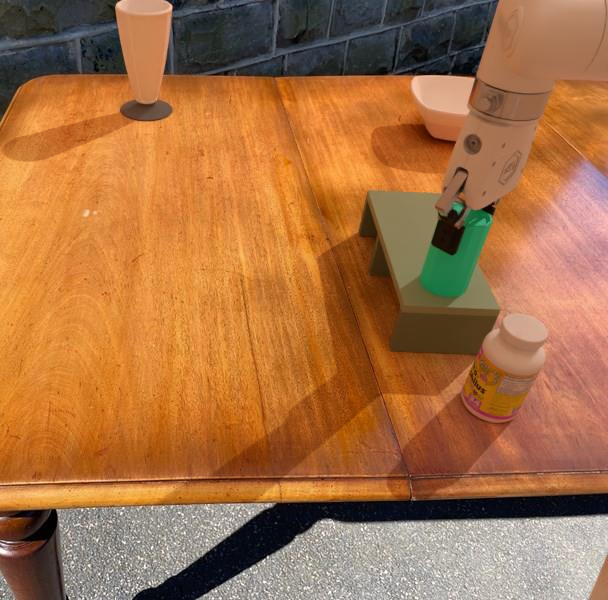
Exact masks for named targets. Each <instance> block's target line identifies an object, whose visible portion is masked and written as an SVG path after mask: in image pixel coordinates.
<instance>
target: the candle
mask: <svg viewBox="0 0 608 600" xmlns="http://www.w3.org/2000/svg"><path fill="white" fill-rule="evenodd" d="M453 207H454V208H453V209H454V210H456V211H457V213H458V215H459V214H460V212H461V210H462V208H463V206H462V205H460V204H458V203H456V202H454V204H453ZM437 222H438V220H437ZM493 222H494V221H493V217H492V215H490V214H488V213H487V212H485V211H483V210H481V209H479V210H473V209H471V210H470V212H469V214H468V216H467V218H466V220H465V222H464V224H463V226H465V227H466V228H465V231H464V234H463V236H462V239H461V242H460V245H459V248H458V251H457V253H456V254H455V255H453V256H451V255H449V254H447V253H446V252H444V251H442V250H440V249H438V248H436V247H434V246H433V245H432V244H431V243H430V246H429V249H428V252H427V255H426V258H425V262H424V265H423V268H422V271H421V274H420V283H421V284H422V285H423V286H424V288H425V289H426V290H428V291H430V292H432V293H434V294H435V295H438V296H443V297H449V298H450V297H457V296H461V295H462V294H463V293H464V292H466V290H467V288H468V285H469V283H470V280H471V277H472V275H473V272H474V269H475V267H476V264H477V262H478V261H479V259H480V257H481V254H482V251H483V248H484V246H485V243H486V241H487V238H488V235H489V233H490V231H491V227H492V225H493ZM436 226H437V224H436ZM435 229H436V227H435ZM434 232H435V230H434ZM433 235H434V233H433ZM432 238H433V236H432ZM431 241H432V239H431ZM478 263H479V262H478Z"/></svg>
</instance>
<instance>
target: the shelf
mask: <svg viewBox="0 0 608 600" xmlns="http://www.w3.org/2000/svg"><path fill="white" fill-rule="evenodd" d="M441 195H442V192H439V193H438V192H419V191H397V190H377V189H376V190H375V189H367V191H366V197H365V200H364V205H363V210H362V214H361V217H360V222H359V227H358V230H357V233H358V236H359V237H372V238H373V237H374V238H376V239H375V244H374V247H373V251H372V255H371V259H370V263H369V266H368V274H369V275H370V276H387V277H391V280H392V283H393V286H394V290H395V293H396V297H397V299H398V302H399V306H400V307H399V310H398V314H397V317H396V320H395V324H394V327H393V330H392V334H391V337H390V340H389V343H388V347H389V351H390V352H402V353H403V352H405V353H406V352H407V353H423V354H424V353H426V354H447V355H469V356H470V355H473V356H477V354H478V352H479V350H480V348H481V345H482V343H483V341H484V339H485V337H486V336H487V334H489V333H490V332H491V331H493V330H494V327H495V324H496V322H497V321H498V318H499V315H500V313H501V311H502V308H501V307H500V304H499V303H498V301H497V299H496V296H495V295H494V293H493V291H492V288H491V287H490V285H489V284H490V283H488V280H487V279H486V276H485V275H484V273H483V270H482V269H481V266H480V264H479V262H477V264H476V267H475V269H474V272H473V275H472V277H471V280H470V283H469V285H468V288H467V290H466V292H464V293H463V294H462V295H461V296H457V297H450V298H449V297H443V296H438V295H435V294H434V293H432V292H430V291H428V290H426V289H425V288H424V286H423V285H422V284H421V283H420V274H421V271H422V268H423V265H424V262H425V258H426V255H427V252H428V249H429V246H430V243H431V239H432V236H433V233H434V230H435V227H436V224H437V220H438V211H437V210H436V208H435V205H436V203H437V201H438V200H439V198H440V197H441Z"/></svg>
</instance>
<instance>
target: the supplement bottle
mask: <svg viewBox="0 0 608 600" xmlns="http://www.w3.org/2000/svg"><path fill="white" fill-rule="evenodd" d="M548 336H549V331H548V328H547V326H546V325H545V324H544V323H543V322H542V321H540V319H538V318H536V317H534V316H532V315H529V314H526V313H522V312H521V313H519V312H514V313H509V314H507V315H505V317H504V318H502V321H501V323H500V325H499V328H496V329H495V328H494V329H492V331H491V332H490V333H489V334H487V336H486V337H485V339H484V341H483V343H482V345H481V348H480V350H479V352H478V354H477V355H476V357H475V359H474V361H473V364H472V366H471V367H470V370H469V372H468V374H467V377H466V379H465V381H464V383H463V386H462V389H461V392H460V393H461V394H460V396H461V400H462V403H463V405H464V406H465V408H466V410H468V411H469V413H471V414H472V415H474V416H475V417H477V418H478V419H481V420H482V421H485V422H488V423H495V424H497V423H498V424H501V423H507V422H509V421H511V420H513V419H514V418H515V417H516V416H517V414H518V413H519V411H520V409H521V407H522V406H523V404H524V402H525V400H526V399H527V397H528V395H529V393H530V392H531V389H532V387H533V385H534V383H535V382H536V380H537V378H538V377H539V374H540V373H541V371H542V369H543V367H544V365H545V363H546V359H547V354H546V350H545V347H544V345H545V343H546V341H547V338H548Z"/></svg>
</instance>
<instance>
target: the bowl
mask: <svg viewBox="0 0 608 600" xmlns="http://www.w3.org/2000/svg"><path fill="white" fill-rule="evenodd" d="M474 80H475V78H474V77H466V76H458V75H457V76H455V75H438V74H437V75H435V74H434V75H432V74H431V75H430V74H429V75H425V74H424V75H417V76H414V77H413V79H412V80H411V81H410V84H409V85H410V86H409V87H410V94H411V97H412V101H413V104H414V108H415V109H416V111H417V113H418V114H419V115H420V116H421V118H422V119H423V124H424V127H425V129H426V130H427V132H428V133H429V134H430V136H432V137H433V138H435V139H438V140H445V141H452V142H456V141H457V139H458V136H459V134H460V131H461V129H462V127H463V124H464V122H465V120H466V118H467V115H468V113H469V112H470V110H469V109H468V107H467V103H468V100H469V96H470V93H471V90H472V87H473V84H474Z"/></svg>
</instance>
